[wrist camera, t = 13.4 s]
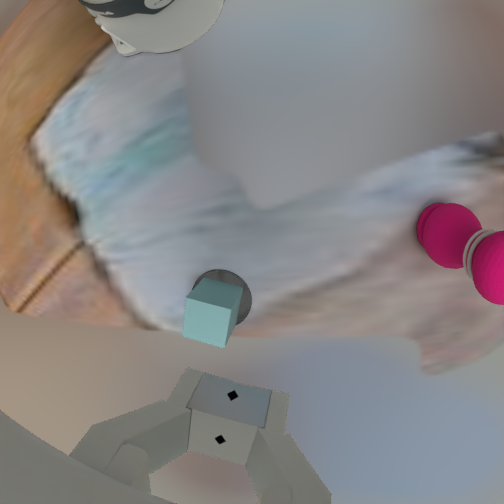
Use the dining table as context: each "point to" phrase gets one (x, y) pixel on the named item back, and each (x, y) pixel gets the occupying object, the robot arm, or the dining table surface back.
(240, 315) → the grey round stand
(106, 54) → the dining table surface
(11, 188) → the dining table surface
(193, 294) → the teal rectangular block
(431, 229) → the pepper mill
